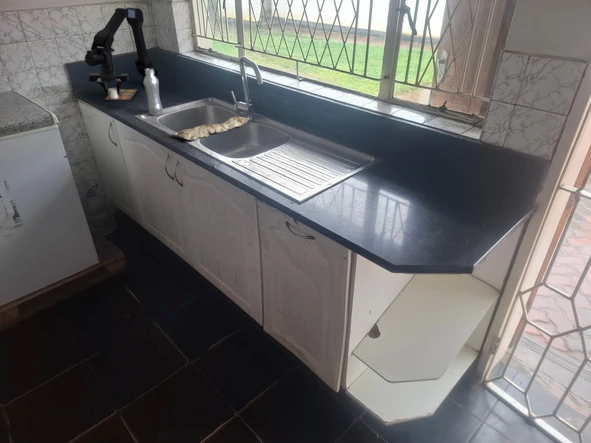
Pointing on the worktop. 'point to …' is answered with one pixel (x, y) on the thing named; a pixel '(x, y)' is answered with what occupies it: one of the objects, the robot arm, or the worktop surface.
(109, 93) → the white lidded jar
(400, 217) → the worktop surface
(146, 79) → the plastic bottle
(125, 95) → the wooden grid board
